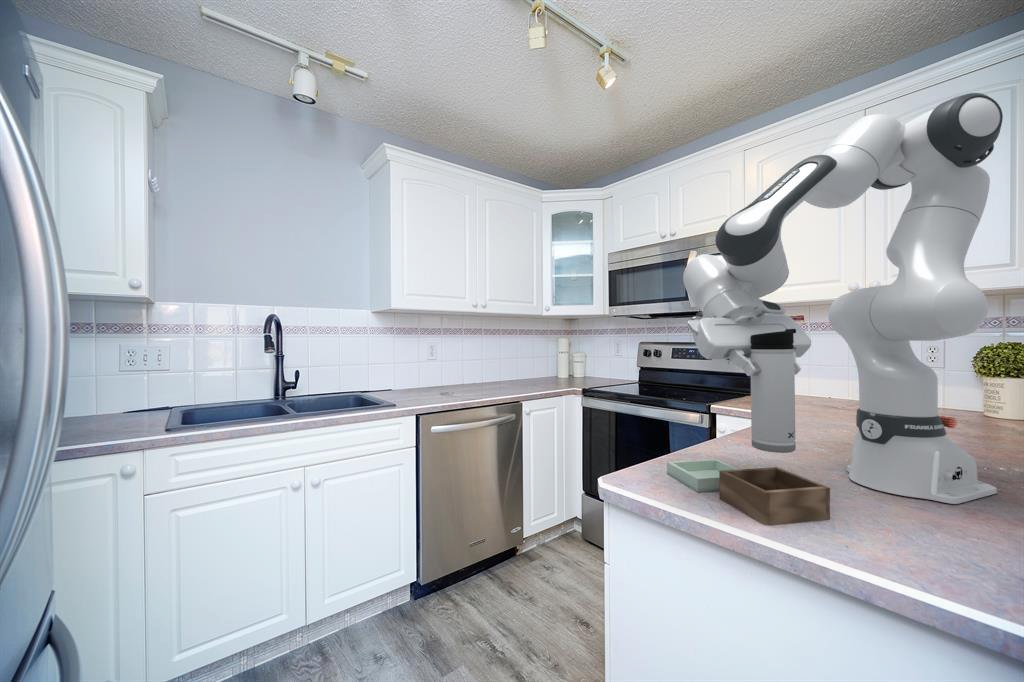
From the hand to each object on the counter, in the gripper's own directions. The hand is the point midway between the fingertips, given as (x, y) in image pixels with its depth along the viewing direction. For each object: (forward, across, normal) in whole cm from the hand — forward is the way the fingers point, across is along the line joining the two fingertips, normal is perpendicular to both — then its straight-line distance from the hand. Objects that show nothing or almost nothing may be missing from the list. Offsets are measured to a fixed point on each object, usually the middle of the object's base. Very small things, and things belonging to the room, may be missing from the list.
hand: (775, 373), depth 68 cm
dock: (+6, -2, +27) cm, 27 cm away
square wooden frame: (+16, 0, +17) cm, 23 cm away
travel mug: (+9, 0, +10) cm, 13 cm away
